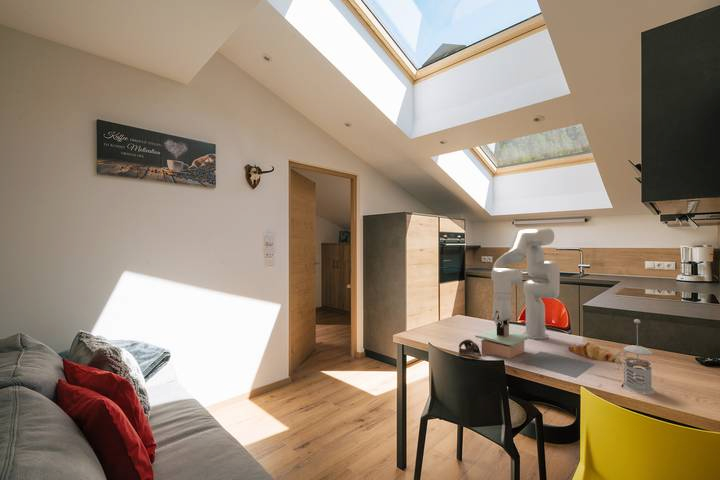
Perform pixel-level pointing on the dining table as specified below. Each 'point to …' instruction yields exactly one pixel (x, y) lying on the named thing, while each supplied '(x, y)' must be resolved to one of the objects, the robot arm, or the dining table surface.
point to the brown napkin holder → (469, 347)
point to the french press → (637, 369)
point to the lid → (507, 339)
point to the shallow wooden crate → (502, 348)
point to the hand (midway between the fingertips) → (502, 333)
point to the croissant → (593, 352)
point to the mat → (558, 364)
